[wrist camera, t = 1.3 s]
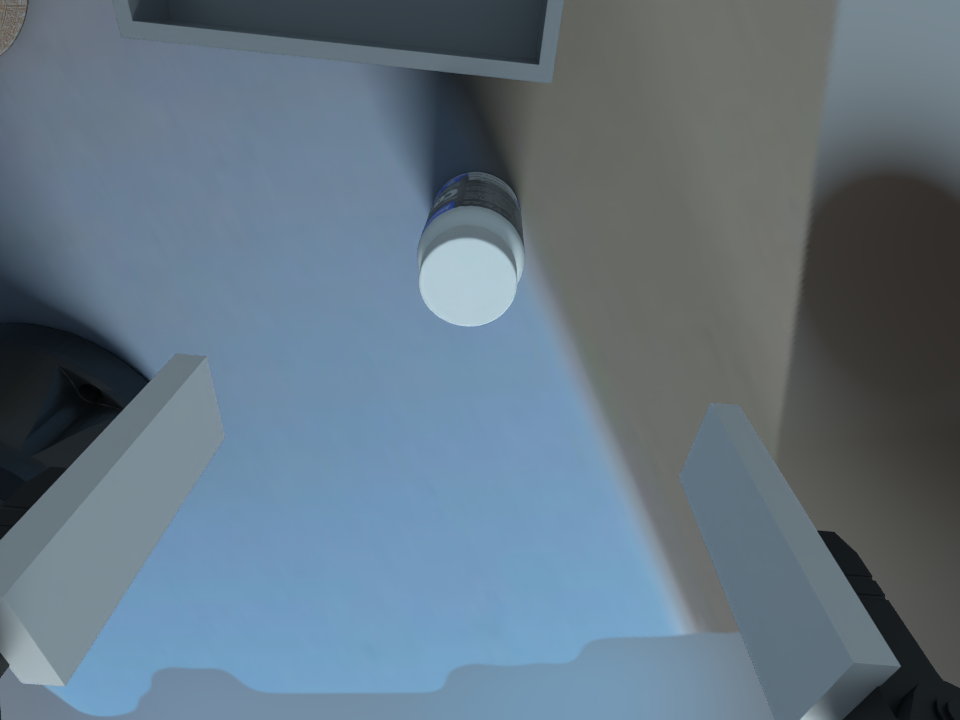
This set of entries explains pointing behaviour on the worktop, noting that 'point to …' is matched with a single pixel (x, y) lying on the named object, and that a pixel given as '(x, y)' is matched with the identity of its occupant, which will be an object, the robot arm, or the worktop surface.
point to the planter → (11, 21)
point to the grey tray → (366, 31)
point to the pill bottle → (471, 250)
